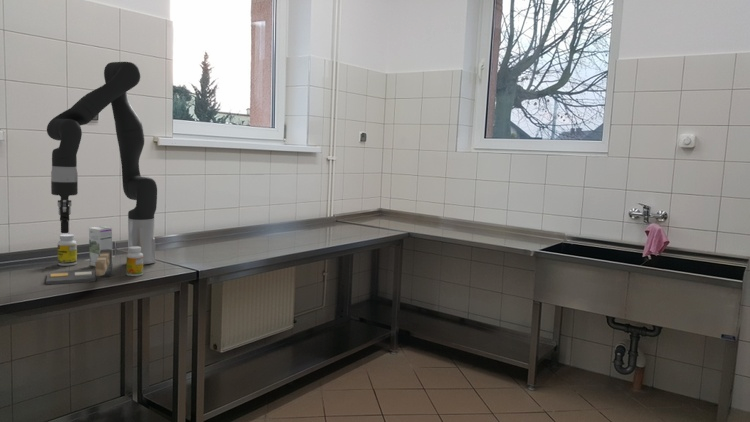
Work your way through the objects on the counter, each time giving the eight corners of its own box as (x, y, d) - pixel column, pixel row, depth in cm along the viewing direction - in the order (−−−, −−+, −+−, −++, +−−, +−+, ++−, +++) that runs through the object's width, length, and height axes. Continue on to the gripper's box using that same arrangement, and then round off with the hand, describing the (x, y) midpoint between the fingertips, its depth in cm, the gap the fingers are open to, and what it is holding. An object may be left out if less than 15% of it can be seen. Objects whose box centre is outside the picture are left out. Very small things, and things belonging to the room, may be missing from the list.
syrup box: (113, 265, 203) (113, 227, 202) (99, 268, 198) (99, 228, 196) (102, 263, 206) (102, 225, 204) (88, 266, 200) (88, 227, 199)
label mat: (94, 272, 192) (94, 268, 192) (95, 281, 180) (95, 276, 180) (48, 274, 185) (48, 270, 185) (46, 284, 173) (46, 280, 173)
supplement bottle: (123, 274, 190) (123, 247, 189) (137, 272, 195) (137, 245, 194) (132, 277, 187) (131, 249, 186) (146, 274, 192) (146, 247, 191)
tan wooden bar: (100, 262, 188) (100, 249, 188) (112, 262, 189) (112, 249, 189) (93, 276, 169) (92, 261, 168) (105, 275, 170) (105, 261, 169)
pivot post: (112, 274, 190) (112, 262, 190) (113, 276, 187) (112, 265, 186) (99, 274, 188) (99, 263, 188) (100, 277, 185) (99, 265, 184)
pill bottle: (53, 264, 200) (53, 235, 199) (68, 262, 206) (68, 233, 205) (66, 266, 198) (65, 236, 197) (80, 263, 204) (80, 234, 202)
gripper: (77, 181, 174) (78, 235, 176) (77, 179, 186) (77, 229, 187) (50, 181, 170) (50, 236, 172) (51, 179, 182) (52, 230, 183)
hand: (64, 232), depth 180 cm, fingers closed
